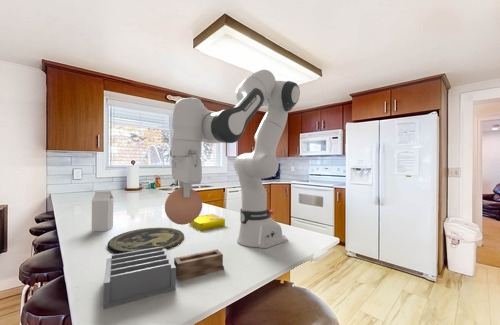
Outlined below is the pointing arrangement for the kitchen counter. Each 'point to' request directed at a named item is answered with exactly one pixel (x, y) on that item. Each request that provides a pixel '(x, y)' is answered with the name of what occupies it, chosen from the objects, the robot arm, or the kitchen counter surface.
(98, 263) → the kitchen counter surface
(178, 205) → the terracotta plate
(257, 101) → the robot arm
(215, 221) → the element tile
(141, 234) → the decorative plate
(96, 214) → the milk carton
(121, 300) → the charcoal dish rack
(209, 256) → the walnut plate stand
